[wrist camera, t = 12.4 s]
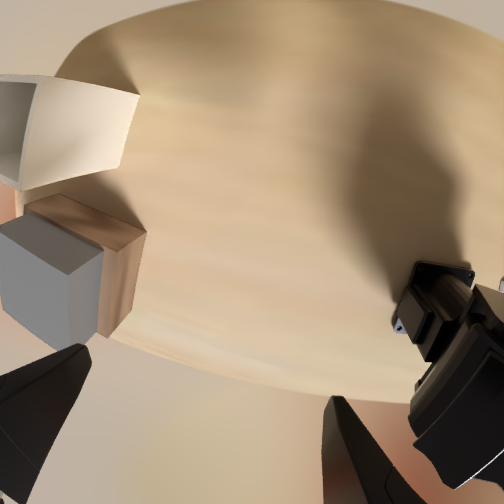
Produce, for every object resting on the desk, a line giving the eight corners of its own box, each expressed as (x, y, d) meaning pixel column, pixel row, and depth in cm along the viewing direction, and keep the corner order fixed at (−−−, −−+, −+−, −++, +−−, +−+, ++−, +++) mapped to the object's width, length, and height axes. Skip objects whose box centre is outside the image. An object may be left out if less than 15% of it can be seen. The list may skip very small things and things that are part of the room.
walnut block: (146, 231, 21) (117, 252, 17) (131, 310, 24) (107, 338, 20) (58, 193, 21) (23, 205, 17) (53, 267, 24) (25, 286, 20)
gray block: (104, 250, 17) (67, 275, 14) (97, 330, 20) (70, 359, 16) (30, 212, 17) (-6, 227, 13) (31, 288, 20) (2, 309, 16)
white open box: (140, 95, 18) (44, 75, 8) (118, 167, 20) (21, 191, 10) (81, 84, 17) (-11, 74, 8) (64, 149, 20) (-28, 165, 10)
